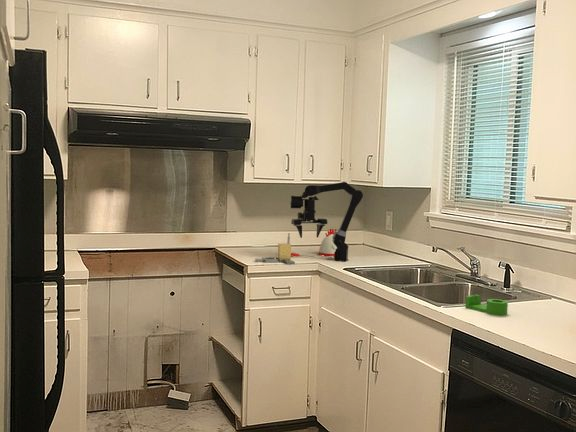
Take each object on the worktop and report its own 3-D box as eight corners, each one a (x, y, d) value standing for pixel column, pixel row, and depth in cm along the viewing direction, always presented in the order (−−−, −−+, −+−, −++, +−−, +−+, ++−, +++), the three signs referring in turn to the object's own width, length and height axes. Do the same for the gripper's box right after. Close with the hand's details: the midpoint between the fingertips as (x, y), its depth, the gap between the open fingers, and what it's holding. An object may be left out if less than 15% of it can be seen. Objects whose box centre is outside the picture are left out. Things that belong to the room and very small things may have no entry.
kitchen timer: (347, 256, 358) (348, 229, 357) (326, 257, 352) (327, 230, 350) (334, 252, 370) (335, 227, 369) (314, 253, 364) (315, 227, 363)
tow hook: (289, 254, 360) (280, 255, 353) (291, 232, 360) (281, 232, 352) (302, 256, 356) (292, 257, 348) (303, 233, 355) (294, 233, 347)
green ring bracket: (511, 314, 226) (512, 302, 225) (498, 317, 222) (499, 304, 221) (477, 306, 238) (478, 294, 238) (464, 308, 234) (465, 296, 234)
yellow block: (288, 260, 335) (289, 243, 334) (290, 261, 331) (291, 244, 330) (277, 260, 333) (278, 243, 332) (279, 261, 329) (280, 244, 328)
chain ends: (287, 259, 337) (287, 257, 337) (294, 264, 323) (294, 261, 323) (254, 260, 332) (254, 257, 332) (260, 264, 318) (260, 261, 318)
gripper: (320, 207, 348) (320, 235, 349) (288, 207, 342) (288, 236, 343) (328, 208, 337) (327, 237, 338) (294, 209, 331) (294, 238, 333)
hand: (309, 237), depth 339 cm, fingers open, 9 cm apart
